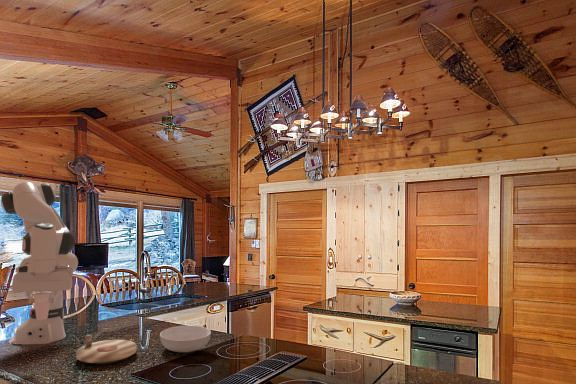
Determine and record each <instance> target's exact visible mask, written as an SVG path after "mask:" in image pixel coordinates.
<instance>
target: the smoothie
mask: <svg viewBox="0 0 576 384" xmlns="http://www.w3.org/2000/svg"><path fill="white" fill-rule="evenodd" d="M51 295H52V292H42V291H40V292H37V293H35V292H34V293H33V294H32V298H34V303H33V304H34V308H35V312H36V319H37V320H43V319H47V318H48V312H49V305H50V298H51Z"/></svg>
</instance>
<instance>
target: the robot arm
mask: <svg viewBox="0 0 576 384" xmlns="http://www.w3.org/2000/svg"><path fill="white" fill-rule="evenodd" d="M56 195H57V194H56V190H55V189H54V188H53V186H52V185H51V184H50V183H46V182H45V183H44V182H43V183H40V184H34V183H33V182H29V181H22V182H20V183H18V184H17V185H15V187H14V188H13V190H11V191H9V190H8V191H7V192H5V193H3V194H2V196H0V197H1V198H0V205H1V208H2V209H3V210H4V212H5V213H7V214H9V215H17V216H18V217H19V218H20V219H22V221H23V226H24V230H25V235H23V236H22V242H21V243H22V244H21V245H22V248H21V250H22V251H23V253H24V254H26V255H27V256H28V257H25V258H24V259H22V260H21V262H20V264H19V265H18V266H17V267H15V274H14V275H13V278H12V283H11V290H12V292H13V293H22V292H23V293H25V296H26V297H27V299H28V304H34V297H33V295H32V293H33V292H34V293H37V292H40V291H42V292H52V295H51V298H50V305H49V312H48V318H47V319H43V320H37V319H36V312H35V307H32V308H30V309H29V318H27V319H26V320H25V321H24V322H22V323H21V324H20V325H19V326H18V327H17V328H16V329H15V333H14V336H13V337H11V338H10V339H9V340H8V344H9V343H10V344H9V345H11V342H14V344H15V343H16V344H18V343H19V344H22V345H45V344H51V343H54V342H58V341H61V340H64V339H65V338H66V337H67V335H66V332H65V325H64V316H65V308H64V305H63V303H64V292H63V291H70V290H71V289H72V288H73V276H74V272H75V271H76V270H77V269H78V265H79V260H78V257H77V255H75V254H74V253H73V252H71V251H73V249H74V248H75V244H76V242H75V241H76V239H75V237H74V234H73V233H72V232H71V231H70V230H69V228H68V227H67V225H66V224H65V223H64V221H63V219H62V217H61V216H60V214H59V213H58V211H57V209H55V208H54V207H52V205H54V203H55V202H56V198H57V197H56Z"/></svg>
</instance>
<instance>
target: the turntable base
mask: <svg viewBox="0 0 576 384" xmlns="http://www.w3.org/2000/svg"><path fill="white" fill-rule="evenodd" d="M126 359H127V358H124V359H120V360H117V361H111V362H104V363H88V362H85V363H86V364H88V365H93V366H103V365H105V366H106V365H107V366H108V365H112V364H115V363H120V362H122V361H124V360H126Z"/></svg>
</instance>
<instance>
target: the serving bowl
mask: <svg viewBox="0 0 576 384" xmlns="http://www.w3.org/2000/svg"><path fill="white" fill-rule="evenodd" d="M211 333H212V331H211V329H209V328H207V327H204V326H201V325H200V326H199V325H178V326H173V327H168V328H165V329H164V330H162V331H161V332H160V333H159V340H160V342H161V344H162V346H163V347H164V348H166V349H167V350H169V351H172V352H175V353H176V352H177V353H191V352H194V351H197V350H200V349H202V348H204V347H205V346H206V345H207V344H208V343H209V341H210V339H211V335H212V334H211Z"/></svg>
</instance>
